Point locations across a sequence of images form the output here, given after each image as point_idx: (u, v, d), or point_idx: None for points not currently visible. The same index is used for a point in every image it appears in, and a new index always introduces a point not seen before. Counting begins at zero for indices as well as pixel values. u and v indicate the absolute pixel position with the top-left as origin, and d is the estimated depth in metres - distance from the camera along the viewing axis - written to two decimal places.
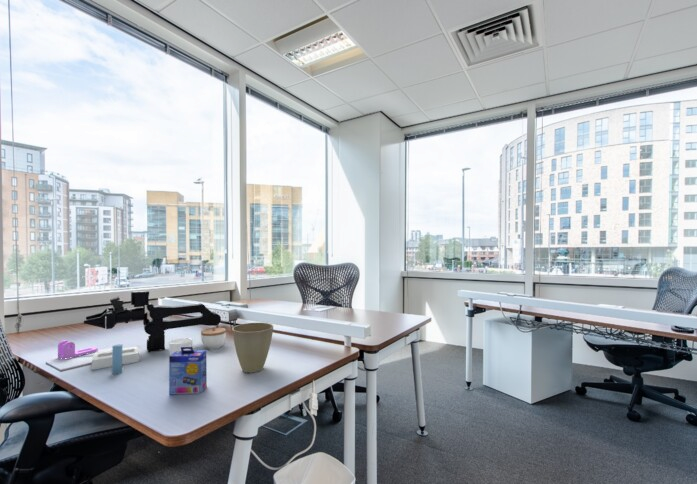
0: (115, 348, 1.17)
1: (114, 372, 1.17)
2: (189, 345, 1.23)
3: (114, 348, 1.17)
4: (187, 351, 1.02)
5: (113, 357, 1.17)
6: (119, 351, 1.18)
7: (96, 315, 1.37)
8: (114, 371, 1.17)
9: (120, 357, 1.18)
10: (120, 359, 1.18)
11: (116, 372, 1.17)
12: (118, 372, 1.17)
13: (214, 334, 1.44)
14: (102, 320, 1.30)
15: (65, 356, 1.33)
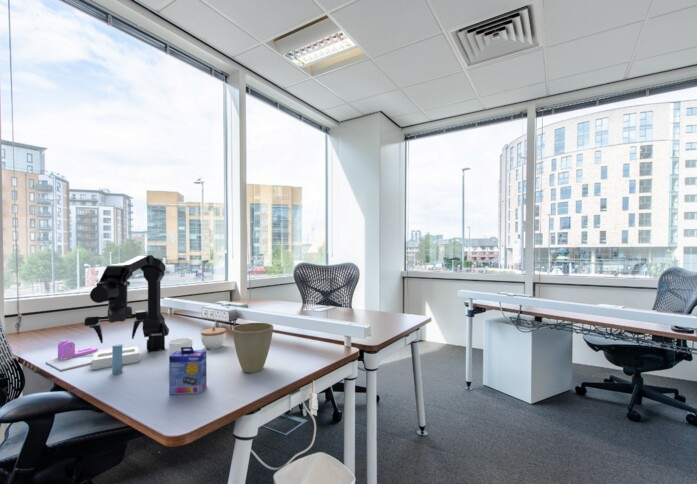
0: (115, 348, 1.17)
1: (114, 372, 1.17)
2: (189, 345, 1.23)
3: (114, 348, 1.17)
4: (187, 351, 1.02)
5: (113, 357, 1.17)
6: (119, 351, 1.18)
7: (101, 333, 1.15)
8: (114, 371, 1.17)
9: (120, 357, 1.18)
10: (120, 359, 1.18)
11: (116, 372, 1.17)
12: (118, 372, 1.17)
13: (214, 334, 1.44)
14: None
15: (65, 356, 1.33)
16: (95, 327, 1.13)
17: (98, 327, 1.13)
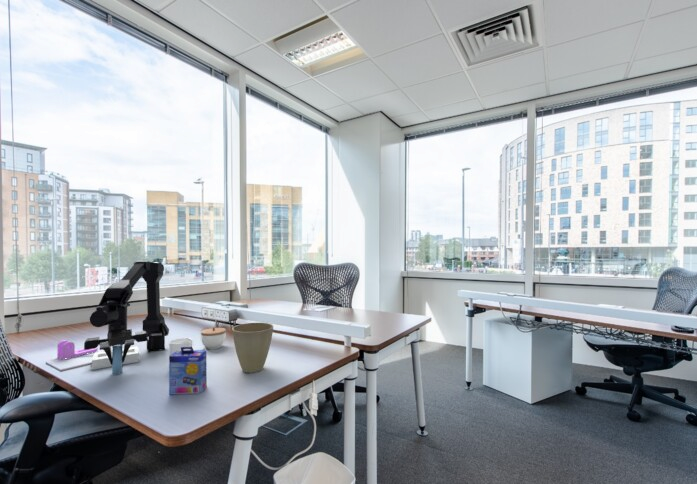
0: (115, 348, 1.17)
1: (114, 372, 1.17)
2: (189, 345, 1.23)
3: (114, 348, 1.17)
4: (187, 351, 1.02)
5: (113, 357, 1.17)
6: (119, 351, 1.18)
7: (111, 355, 1.17)
8: (114, 371, 1.17)
9: (120, 357, 1.18)
10: (120, 359, 1.18)
11: (116, 372, 1.17)
12: (118, 372, 1.17)
13: (214, 334, 1.44)
14: None
15: (64, 356, 1.33)
16: (105, 349, 1.14)
17: (108, 349, 1.15)
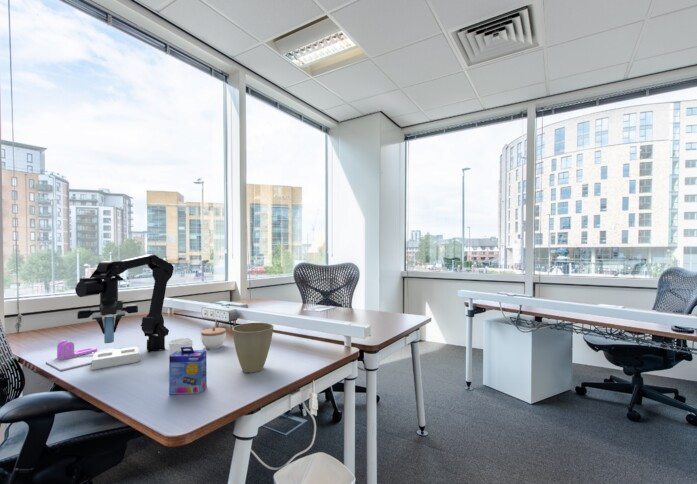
0: (107, 318, 1.24)
1: (106, 341, 1.24)
2: (189, 345, 1.23)
3: (106, 318, 1.24)
4: (187, 351, 1.02)
5: (105, 327, 1.24)
6: (111, 321, 1.25)
7: (103, 325, 1.24)
8: (106, 340, 1.24)
9: (112, 327, 1.25)
10: (112, 329, 1.25)
11: (108, 341, 1.24)
12: (110, 341, 1.25)
13: (214, 334, 1.44)
14: None
15: (64, 356, 1.33)
16: (97, 319, 1.22)
17: (100, 319, 1.22)
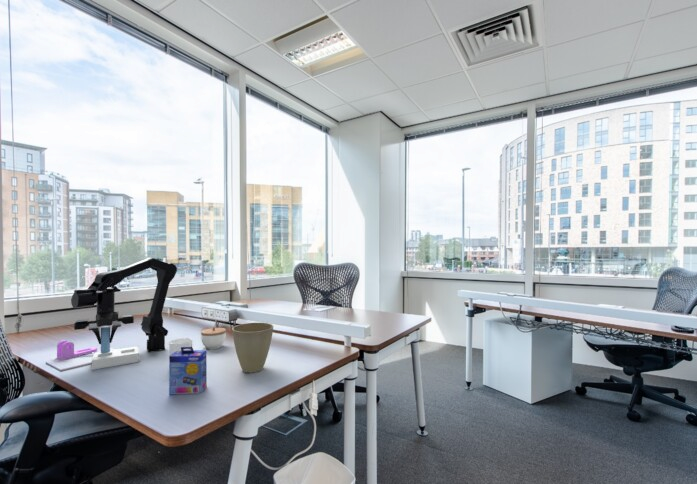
0: (103, 329, 1.27)
1: (102, 351, 1.27)
2: (189, 345, 1.23)
3: (102, 329, 1.27)
4: (187, 351, 1.02)
5: (101, 337, 1.27)
6: (107, 332, 1.28)
7: (99, 335, 1.27)
8: (102, 350, 1.27)
9: (108, 337, 1.28)
10: (108, 339, 1.28)
11: (104, 351, 1.27)
12: (106, 351, 1.27)
13: (214, 334, 1.44)
14: None
15: (64, 356, 1.33)
16: (94, 330, 1.24)
17: (97, 330, 1.25)
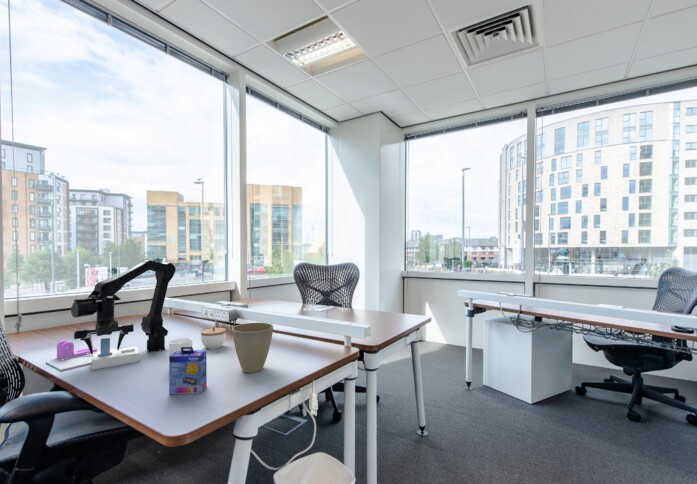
0: (103, 340, 1.27)
1: None
2: (189, 345, 1.23)
3: (102, 340, 1.27)
4: (187, 351, 1.02)
5: (101, 349, 1.27)
6: (107, 343, 1.27)
7: (91, 345, 1.25)
8: None
9: (108, 349, 1.28)
10: (108, 351, 1.28)
11: None
12: None
13: (214, 334, 1.44)
14: None
15: (64, 356, 1.33)
16: (86, 340, 1.23)
17: (88, 340, 1.23)
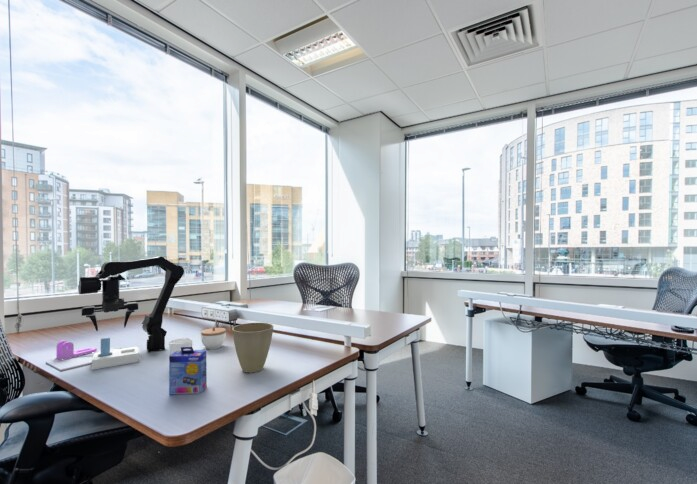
0: (103, 340, 1.27)
1: None
2: (189, 345, 1.23)
3: (102, 340, 1.27)
4: (187, 351, 1.02)
5: (101, 349, 1.27)
6: (107, 343, 1.27)
7: (96, 322, 1.30)
8: None
9: (108, 349, 1.28)
10: (108, 351, 1.28)
11: None
12: None
13: (214, 334, 1.44)
14: None
15: (63, 356, 1.33)
16: (91, 317, 1.28)
17: (94, 317, 1.28)
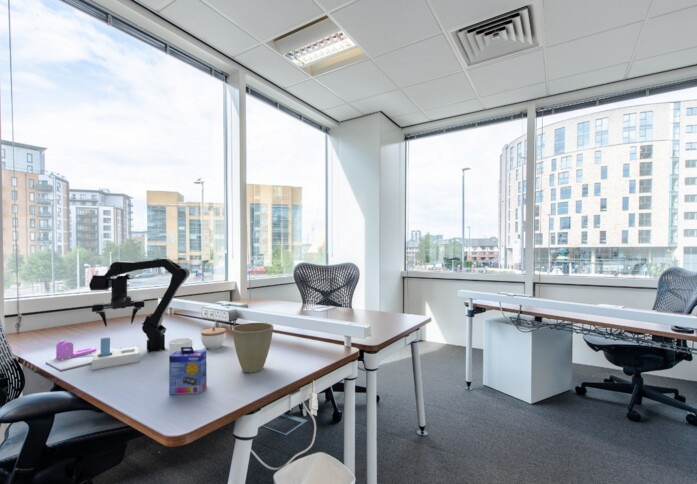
0: (103, 340, 1.27)
1: None
2: (189, 345, 1.23)
3: (102, 340, 1.27)
4: (187, 351, 1.02)
5: (101, 349, 1.27)
6: (107, 343, 1.27)
7: (105, 318, 1.39)
8: None
9: (108, 349, 1.28)
10: (108, 351, 1.28)
11: None
12: None
13: (214, 334, 1.44)
14: None
15: (63, 356, 1.33)
16: (100, 313, 1.37)
17: (103, 313, 1.37)
